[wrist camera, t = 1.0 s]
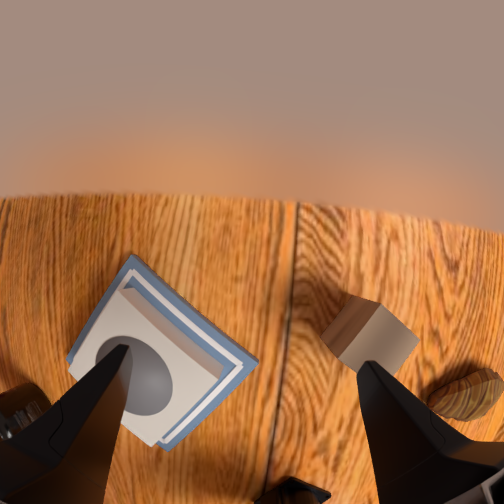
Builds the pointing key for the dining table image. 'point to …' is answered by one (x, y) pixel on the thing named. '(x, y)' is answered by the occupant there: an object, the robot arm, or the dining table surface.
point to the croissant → (468, 396)
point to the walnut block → (369, 336)
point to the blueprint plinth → (161, 355)
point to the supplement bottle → (20, 408)
